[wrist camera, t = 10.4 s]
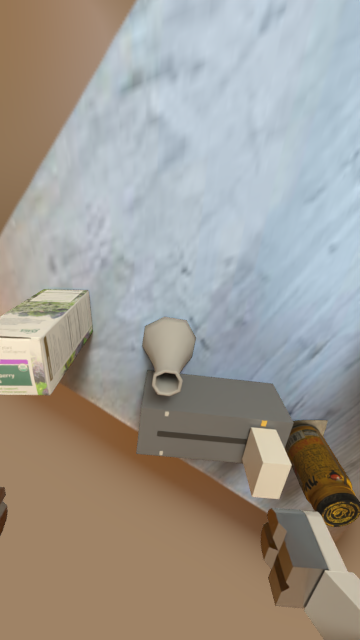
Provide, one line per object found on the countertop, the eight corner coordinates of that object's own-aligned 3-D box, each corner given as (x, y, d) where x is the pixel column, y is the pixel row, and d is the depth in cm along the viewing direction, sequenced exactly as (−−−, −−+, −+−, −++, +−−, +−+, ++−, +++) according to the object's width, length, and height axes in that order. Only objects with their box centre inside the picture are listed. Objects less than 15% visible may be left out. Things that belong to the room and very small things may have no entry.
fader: (242, 459, 36) (251, 496, 32) (251, 427, 34) (263, 462, 30) (265, 461, 37) (279, 498, 32) (276, 429, 35) (291, 465, 30)
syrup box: (49, 330, 38) (-18, 400, 25) (42, 286, 36) (-35, 337, 23) (93, 331, 39) (50, 400, 25) (89, 287, 36) (39, 338, 23)
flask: (199, 360, 41) (206, 407, 31) (147, 367, 41) (139, 416, 32) (192, 312, 38) (197, 347, 29) (137, 319, 38) (124, 357, 29)
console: (142, 410, 44) (136, 454, 36) (147, 370, 41) (141, 408, 33) (261, 422, 45) (278, 466, 37) (272, 383, 42) (293, 423, 35)
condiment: (318, 455, 48) (361, 533, 36) (265, 455, 47) (293, 533, 36) (326, 419, 45) (376, 491, 34) (271, 419, 45) (303, 491, 34)
